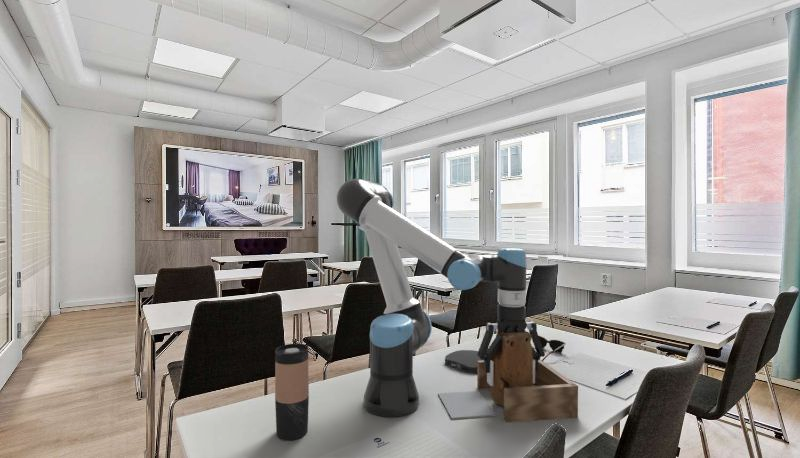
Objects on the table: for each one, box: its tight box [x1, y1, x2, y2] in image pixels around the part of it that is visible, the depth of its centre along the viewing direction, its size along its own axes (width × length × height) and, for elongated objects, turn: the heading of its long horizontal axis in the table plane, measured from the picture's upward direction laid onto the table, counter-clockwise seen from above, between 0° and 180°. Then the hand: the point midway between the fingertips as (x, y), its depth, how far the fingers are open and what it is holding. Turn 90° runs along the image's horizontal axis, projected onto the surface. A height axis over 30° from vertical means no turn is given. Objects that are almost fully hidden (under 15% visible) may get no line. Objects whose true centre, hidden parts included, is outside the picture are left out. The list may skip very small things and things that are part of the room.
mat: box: [437, 390, 498, 420], centre depth 105 cm, size 12×14×1 cm
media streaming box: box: [444, 349, 481, 374], centre depth 136 cm, size 15×15×3 cm
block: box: [489, 329, 533, 407], centre depth 107 cm, size 11×8×20 cm
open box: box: [476, 359, 579, 424], centre depth 108 cm, size 19×21×8 cm
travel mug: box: [274, 343, 310, 442], centre depth 91 cm, size 8×8×20 cm
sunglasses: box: [538, 335, 566, 362], centre depth 146 cm, size 14×16×5 cm
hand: (510, 382), depth 107 cm, fingers closed on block, 11 cm apart
